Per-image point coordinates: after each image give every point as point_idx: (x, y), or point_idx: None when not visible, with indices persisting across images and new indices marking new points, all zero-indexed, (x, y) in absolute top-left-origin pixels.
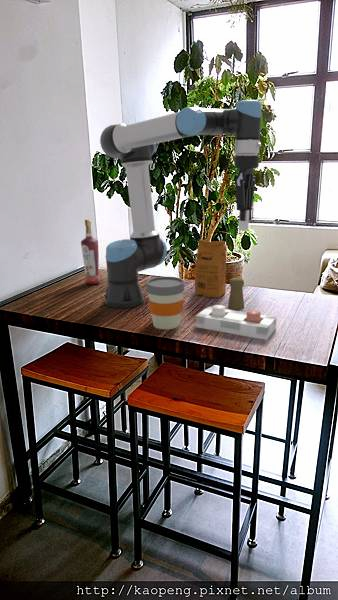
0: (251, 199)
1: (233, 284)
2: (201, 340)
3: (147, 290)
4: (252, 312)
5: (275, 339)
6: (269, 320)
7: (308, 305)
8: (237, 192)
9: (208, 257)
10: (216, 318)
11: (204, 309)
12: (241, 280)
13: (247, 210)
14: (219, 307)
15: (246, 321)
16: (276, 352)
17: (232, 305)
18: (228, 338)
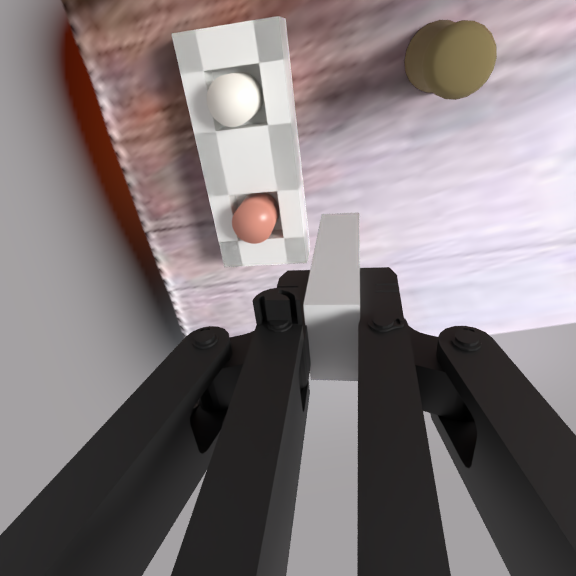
0: (463, 480)
1: (422, 62)
2: (125, 111)
3: None
4: (251, 221)
5: (248, 268)
6: (273, 256)
7: (538, 270)
8: (24, 542)
9: None
10: (196, 115)
11: (241, 23)
12: (451, 93)
13: (333, 373)
14: (228, 106)
15: (245, 199)
16: (190, 289)
17: (408, 58)
18: (183, 170)
